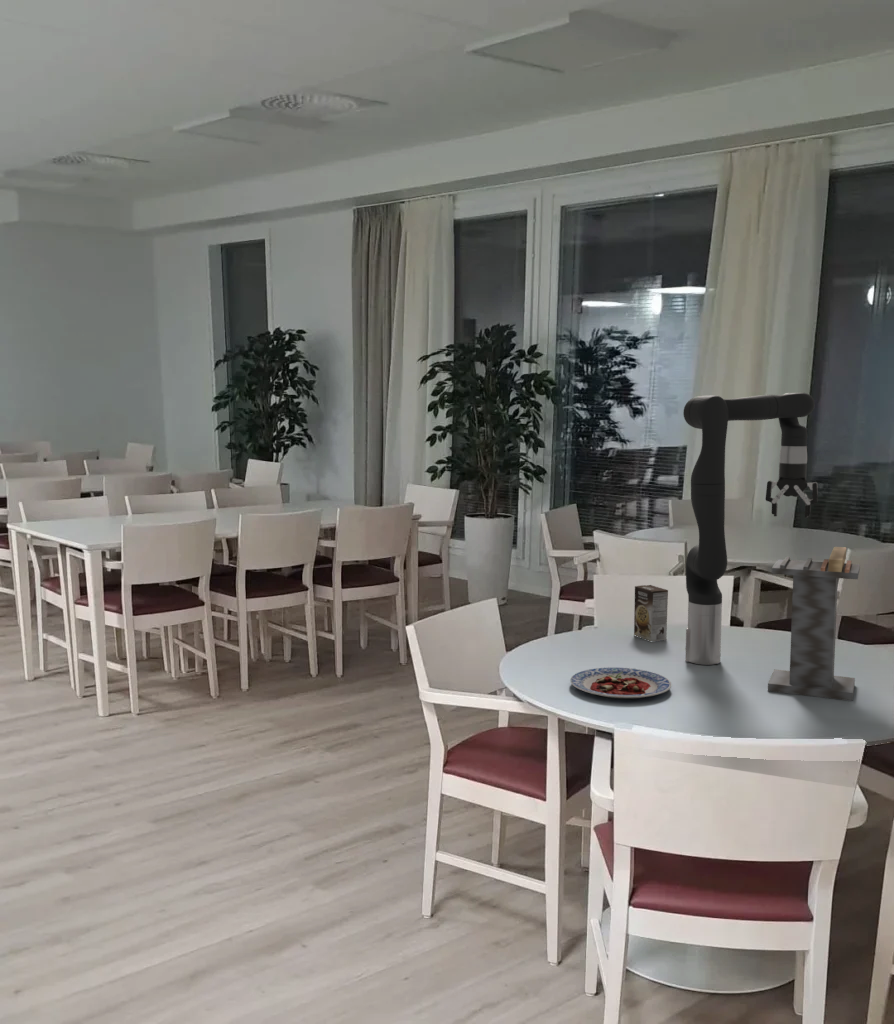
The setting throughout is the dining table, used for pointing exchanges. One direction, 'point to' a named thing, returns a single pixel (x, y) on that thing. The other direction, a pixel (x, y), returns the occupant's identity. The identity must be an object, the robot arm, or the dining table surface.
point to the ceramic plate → (620, 682)
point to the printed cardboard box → (650, 612)
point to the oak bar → (837, 559)
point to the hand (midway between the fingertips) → (790, 516)
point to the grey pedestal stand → (813, 631)
